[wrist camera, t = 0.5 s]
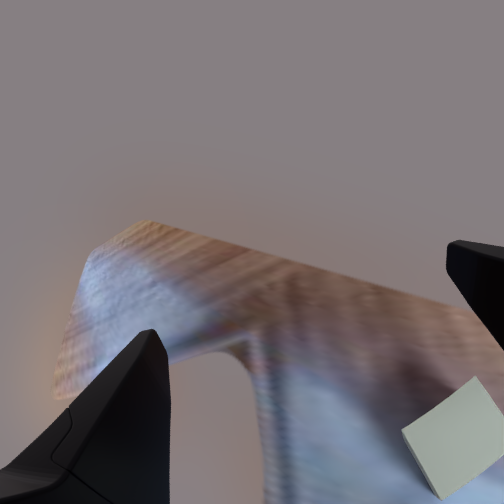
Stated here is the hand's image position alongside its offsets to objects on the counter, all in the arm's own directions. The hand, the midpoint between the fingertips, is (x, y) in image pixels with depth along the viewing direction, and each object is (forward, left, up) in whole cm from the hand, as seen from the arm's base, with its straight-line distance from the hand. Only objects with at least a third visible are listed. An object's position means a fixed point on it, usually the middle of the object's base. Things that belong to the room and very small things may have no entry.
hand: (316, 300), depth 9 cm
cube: (-5, -3, -16) cm, 17 cm away
